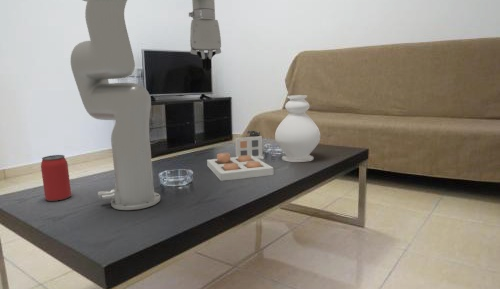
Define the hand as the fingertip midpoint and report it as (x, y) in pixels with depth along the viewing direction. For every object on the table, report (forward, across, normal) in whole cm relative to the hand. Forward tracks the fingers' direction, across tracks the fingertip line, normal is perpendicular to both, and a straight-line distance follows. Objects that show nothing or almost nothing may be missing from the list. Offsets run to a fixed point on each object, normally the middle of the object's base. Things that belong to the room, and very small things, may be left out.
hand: (206, 70), depth 125 cm
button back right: (+34, +12, -3) cm, 37 cm away
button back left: (+33, +4, -3) cm, 33 cm away
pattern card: (+35, +17, +7) cm, 40 cm away
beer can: (+35, -48, -17) cm, 62 cm away
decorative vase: (+35, +35, 0) cm, 50 cm away
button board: (+35, +8, -8) cm, 37 cm away
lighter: (+35, +23, +18) cm, 46 cm away
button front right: (+35, +12, -13) cm, 39 cm away
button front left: (+35, +4, -13) cm, 37 cm away
